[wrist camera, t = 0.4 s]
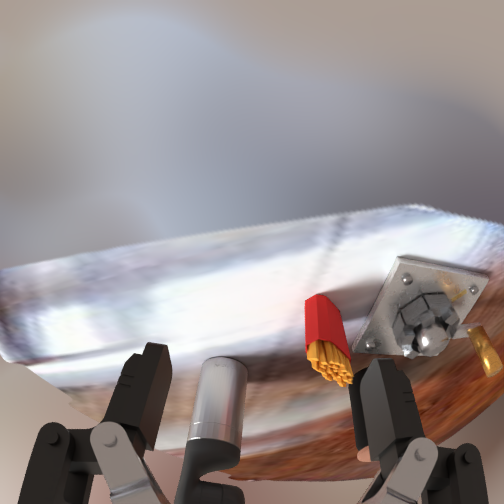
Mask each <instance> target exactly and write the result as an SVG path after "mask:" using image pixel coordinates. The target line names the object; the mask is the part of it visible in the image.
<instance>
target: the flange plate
mask: <svg viewBox="0 0 504 504" xmlns="http://www.w3.org/2000/svg"><path fill="white" fill-rule="evenodd" d="M488 281H489V278H488V277H487V275H486V274H482V273H477V272H472V271H467V270H462V269H457V268H452V267H447V266H442V265H437V264H431V263H426V262H421V261H416V260H410V259H405V258H400V257H396V259H395V262H394V264H393V266H392V268H391V270H390V273H389V275H388V277H387V279H386V281H385V283H384V285H383V287H382V289H381V291H380V293H379V295H378V297H377V299H376V301H375V303H374V305H373V307H372V309H371V311H370V313H369V315H368V317H367V319H366V320H365V322H364V324H363V326H362V328H361V330H360V332H359V333H358V335H357V337H356V339H355V341H354V342H353V344H352V346H351V347H352V352H354V353H369V354H388V355H404V352H403V350H402V349H401V348H400V347H399V346H398V345H397V343H396V340H395V337H394V334H393V327H394V325H395V322H396V319H397V317H398V314H399V312H401V310H402V309H404V308H405V307H406V306H408V305H409V304H411V303H412V302H414V301H415V300H417V299H418V298H419V297H421V296H422V297H423V296H424V295H437V294H445V295H447V297H448V299H449V300H450V302H451V304H452V305H453V307H454V309H455V311H456V313H457V314H458V316H459V318H460V322H459V323H458V325H461V323H462V322H463V320H464V319H465V317H466V316H467V314H468V313H469V311H470V310H471V308H472V307H473V305H474V304H475V302H476V301H477V299H478V298H479V296H480V294H481V293H482V291H483V289H484V288H485V286H486V284H487V283H488ZM440 319H441V316H437V317H435V323H433V324H431V325H429V326H427V327H425V328H423V327H422V324H421V323H420V324H418V325H417V326H415V327H414V328H413V331H414V333H415V336H416V339H417V342H418V344H419V347H420V350H421V352H422V353H420V354H418V355H417V356H433V355H434V356H438V354H439V353H440V352H441V351H443V350H444V349H445V348H446V347H447V345H448V343H449V340H450V339H451V338H449V339H448V336H447V334H446V332H445V330H444V328H443V325H442V323H441V321H440Z"/></svg>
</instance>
